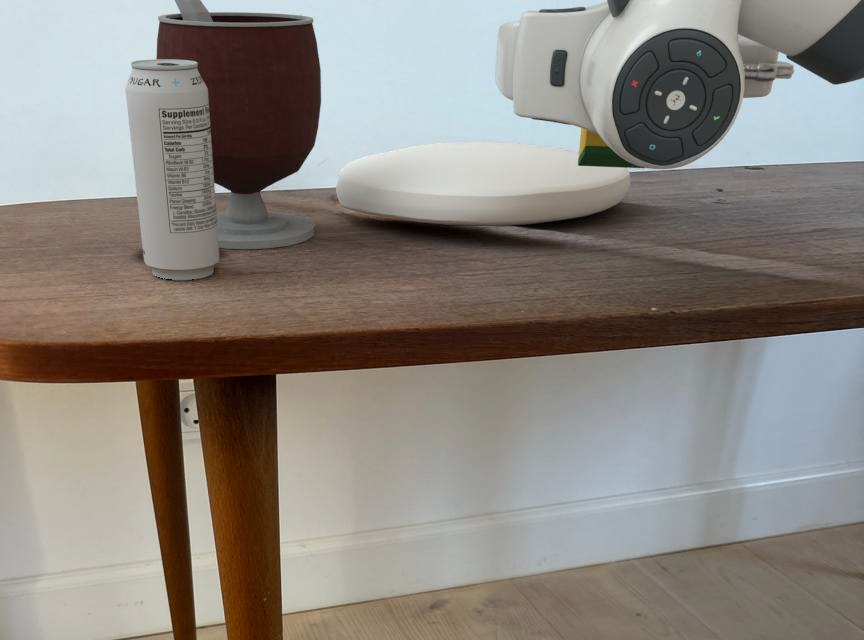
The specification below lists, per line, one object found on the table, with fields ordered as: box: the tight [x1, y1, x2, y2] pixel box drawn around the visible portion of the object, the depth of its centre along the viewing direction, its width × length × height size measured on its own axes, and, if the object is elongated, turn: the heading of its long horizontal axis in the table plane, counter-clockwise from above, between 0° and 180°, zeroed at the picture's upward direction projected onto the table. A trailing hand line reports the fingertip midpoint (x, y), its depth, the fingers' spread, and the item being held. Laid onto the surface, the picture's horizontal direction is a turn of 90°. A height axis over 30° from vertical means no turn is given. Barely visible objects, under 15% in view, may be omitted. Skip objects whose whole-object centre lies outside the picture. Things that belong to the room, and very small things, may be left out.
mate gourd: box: [156, 0, 322, 250], centre depth 92 cm, size 16×14×20 cm
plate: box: [335, 141, 631, 227], centre depth 103 cm, size 28×6×27 cm
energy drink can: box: [124, 59, 221, 281], centre depth 81 cm, size 6×6×15 cm
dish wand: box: [578, 128, 645, 169], centre depth 82 cm, size 6×6×16 cm
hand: (624, 50), depth 83 cm, fingers closed on dish wand, 3 cm apart
